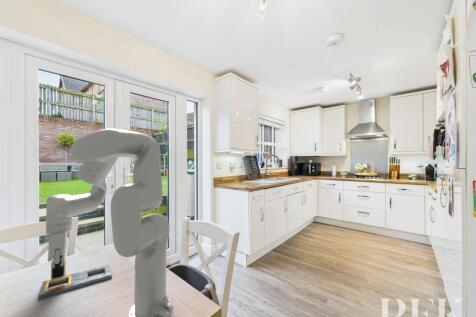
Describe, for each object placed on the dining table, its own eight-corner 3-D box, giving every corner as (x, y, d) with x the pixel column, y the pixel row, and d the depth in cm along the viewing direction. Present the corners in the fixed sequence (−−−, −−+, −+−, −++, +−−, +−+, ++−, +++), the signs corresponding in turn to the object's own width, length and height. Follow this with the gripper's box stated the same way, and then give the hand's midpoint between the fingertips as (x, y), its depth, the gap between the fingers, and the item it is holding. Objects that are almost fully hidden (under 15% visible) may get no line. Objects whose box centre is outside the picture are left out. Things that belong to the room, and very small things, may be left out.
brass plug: (65, 274, 82) (65, 256, 82) (64, 279, 79) (65, 261, 79) (52, 277, 80) (52, 259, 80) (50, 282, 76) (51, 264, 76)
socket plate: (109, 267, 93) (109, 264, 93) (111, 278, 85) (111, 274, 85) (43, 285, 80) (43, 281, 80) (38, 299, 72) (38, 294, 72)
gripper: (49, 223, 84) (48, 268, 84) (42, 235, 70) (41, 289, 70) (72, 220, 88) (72, 262, 88) (70, 231, 75) (69, 281, 75)
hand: (58, 273), depth 79 cm, fingers closed on brass plug, 4 cm apart
